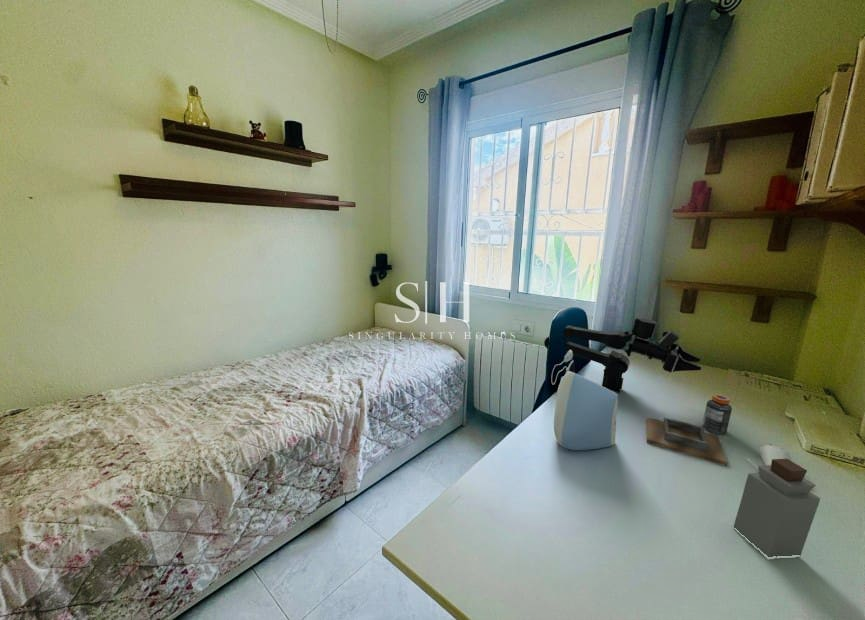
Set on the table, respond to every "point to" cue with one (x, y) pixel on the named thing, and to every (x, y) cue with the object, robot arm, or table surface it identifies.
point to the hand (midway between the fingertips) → (700, 364)
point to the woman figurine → (770, 455)
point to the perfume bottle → (777, 508)
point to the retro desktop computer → (583, 411)
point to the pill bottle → (717, 414)
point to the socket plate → (685, 439)
